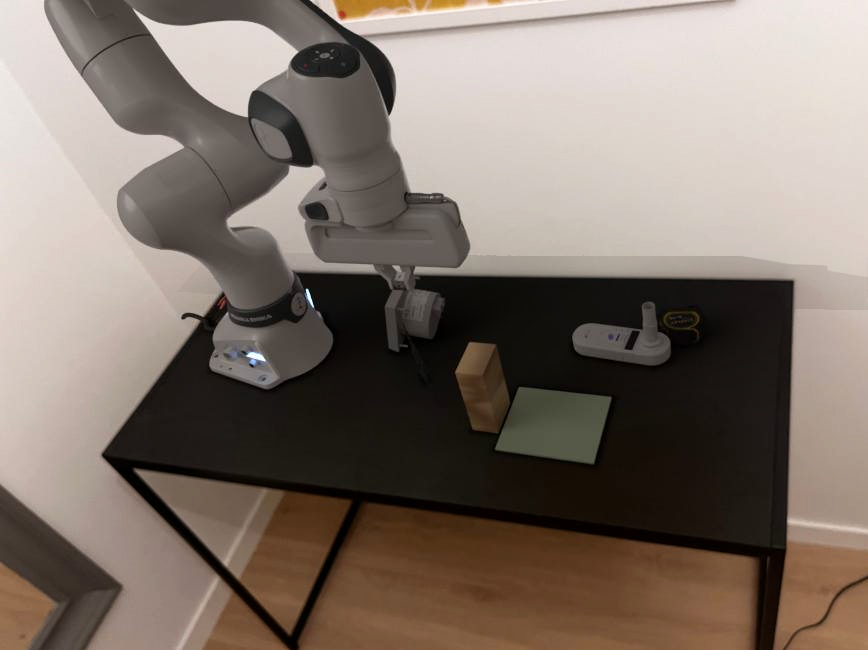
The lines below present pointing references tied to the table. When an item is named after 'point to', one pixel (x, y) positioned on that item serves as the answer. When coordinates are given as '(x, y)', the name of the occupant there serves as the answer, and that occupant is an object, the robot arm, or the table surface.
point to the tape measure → (682, 324)
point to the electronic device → (625, 341)
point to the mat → (555, 425)
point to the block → (483, 387)
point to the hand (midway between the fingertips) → (403, 287)
